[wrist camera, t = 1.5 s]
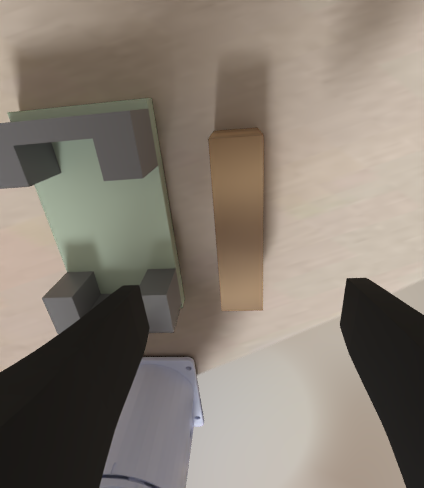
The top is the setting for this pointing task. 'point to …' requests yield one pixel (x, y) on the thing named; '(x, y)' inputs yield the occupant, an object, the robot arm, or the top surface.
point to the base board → (106, 207)
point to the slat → (238, 215)
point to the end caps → (113, 168)
